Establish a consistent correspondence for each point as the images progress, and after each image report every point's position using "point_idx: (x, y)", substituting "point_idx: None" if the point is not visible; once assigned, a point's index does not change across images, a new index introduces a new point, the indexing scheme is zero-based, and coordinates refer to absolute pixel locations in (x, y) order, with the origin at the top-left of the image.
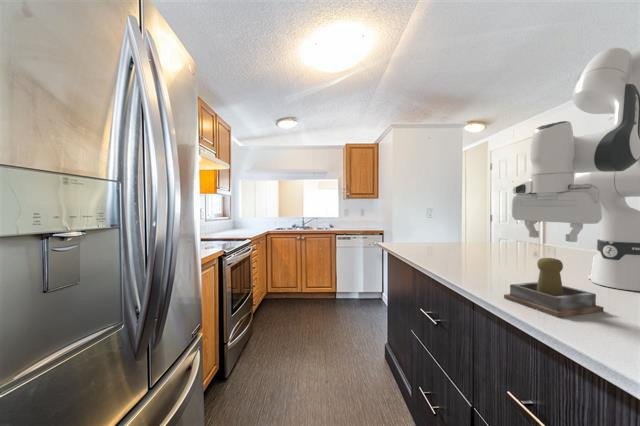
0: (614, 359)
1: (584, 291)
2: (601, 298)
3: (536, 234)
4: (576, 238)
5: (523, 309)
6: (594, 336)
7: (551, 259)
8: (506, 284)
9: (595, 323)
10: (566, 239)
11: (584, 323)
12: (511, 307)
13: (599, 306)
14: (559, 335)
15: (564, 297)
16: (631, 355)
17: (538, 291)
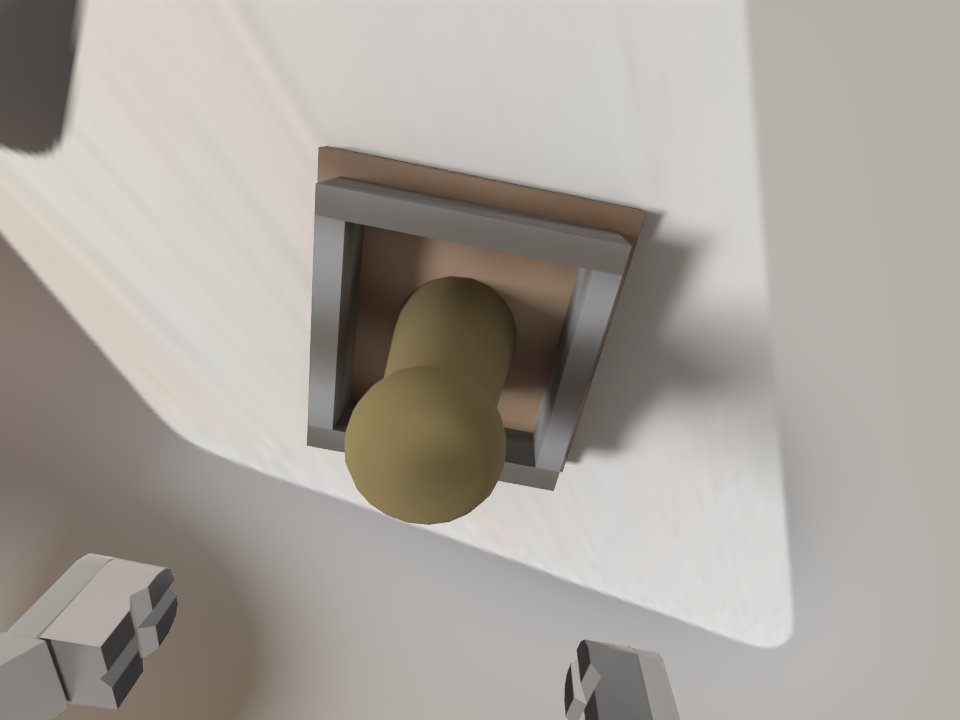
0: (756, 616)
1: (573, 242)
2: None
3: (137, 621)
4: (664, 694)
5: None
6: (692, 526)
7: (446, 504)
8: (86, 137)
9: (663, 412)
10: (576, 711)
11: (638, 444)
12: None
13: (630, 220)
14: (627, 587)
15: (564, 452)
16: (783, 571)
17: None
